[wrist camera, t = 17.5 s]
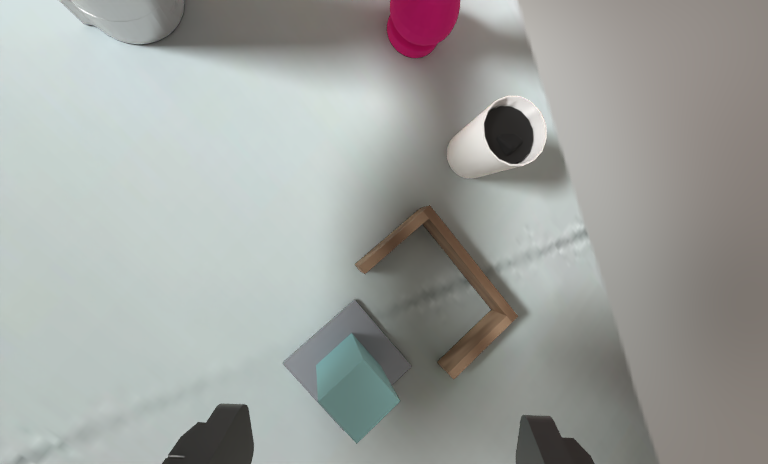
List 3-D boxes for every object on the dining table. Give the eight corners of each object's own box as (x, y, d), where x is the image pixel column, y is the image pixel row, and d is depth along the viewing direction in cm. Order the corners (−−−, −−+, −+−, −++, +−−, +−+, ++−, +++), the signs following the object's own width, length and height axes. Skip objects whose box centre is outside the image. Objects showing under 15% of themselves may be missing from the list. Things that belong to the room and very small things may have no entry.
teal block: (346, 398, 40) (356, 443, 31) (316, 365, 39) (317, 402, 30) (380, 365, 41) (400, 401, 32) (351, 332, 40) (363, 359, 31)
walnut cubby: (442, 368, 43) (453, 379, 39) (354, 264, 41) (358, 266, 37) (501, 310, 44) (518, 316, 41) (420, 207, 42) (429, 205, 39)
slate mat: (343, 428, 40) (343, 430, 40) (283, 362, 39) (282, 363, 38) (410, 364, 42) (411, 366, 41) (354, 299, 41) (355, 300, 40)
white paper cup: (504, 162, 45) (559, 141, 35) (463, 193, 43) (508, 180, 34) (474, 116, 44) (522, 81, 34) (432, 146, 43) (468, 119, 33)
